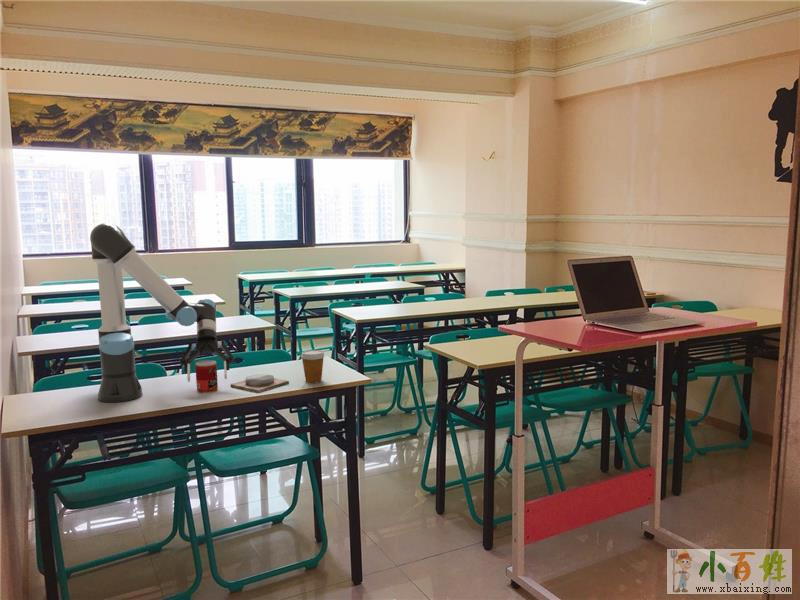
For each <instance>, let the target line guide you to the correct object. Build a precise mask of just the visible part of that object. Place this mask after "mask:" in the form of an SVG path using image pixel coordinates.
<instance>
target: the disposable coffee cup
mask: <svg viewBox="0 0 800 600" xmlns="http://www.w3.org/2000/svg"><path fill="white" fill-rule="evenodd" d="M300 357H301V360H302V366H303V367H302V368H303V372H304V378H305V382H306V383H309V384H317V383H321V382H322V377H323V367H324V358H325V352H324V351H323V350H321V349H320V350H319V349H308V350H304V351H302V352H301V355H300ZM320 381H321V382H320Z"/></svg>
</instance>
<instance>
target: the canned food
mask: <svg viewBox="0 0 800 600" xmlns="http://www.w3.org/2000/svg"><path fill="white" fill-rule="evenodd" d="M194 366H195V383H196V390H197V392H198V391H199V392H198V393H204V392H206V393H212V391H213V392H216V391H218V388H219V387H218V386H219V385H218V383H219V382H218V367H217V361H216V360H207V359H206V360H199V361H196V362H195V365H194Z"/></svg>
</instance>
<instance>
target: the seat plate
mask: <svg viewBox="0 0 800 600" xmlns="http://www.w3.org/2000/svg"><path fill="white" fill-rule="evenodd" d="M287 383H290V381H289V380H286V379H282V378H280V379H279V378H276V377H275V378H274V375H272V374H269V373H268V374H266V373H265V374H264V373H263V374H262V373H261V374H259V373H258V374H252V375H249V376H247V377H245V380H241V381H237V382H235V383H231V384H230V387H231V388H235V389H239V390H243V389H245V390H244V391H248V390H250V391H249V392H252V391H255V392H254V393H257V392H259V393H261V392H260V391H262V392H264V391H263V390H266V391H268V390H267V389H269V390H271V389H270V388H272V389H275V388H274V387H276V388H278V387H277V386H279V387H281V386H280V385H282V386H284V385H283V384H285V385H288V384H287Z"/></svg>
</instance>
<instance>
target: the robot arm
mask: <svg viewBox="0 0 800 600" xmlns="http://www.w3.org/2000/svg"><path fill="white" fill-rule="evenodd" d="M89 239H90V240H89V241H90V245H91V258H92V261H93V262H95V263H96V264H97V266H96V267H97V276H98V277H97V278H98V279H97V280H98V289H99V291H98V293H99V302H100V315H101V316H100V317H101V326H100V327H99V328H98V329H97V333H98V349H99V350H98V351H99V357H100V369H101V371H100V372H101V381H100V384H99V389H98V393H97V396H98V397H97V398H98V401H99V402H103V403H119V402H127V401H131V400H134V399H138V398H140V397H141V396H143V387H142V386H141V383H140V381H139V378H138V377H137V374H136V373H137V371H136V369H137V368H136V360H135V359H136V357H135V341H134V336H132V329H131V328H132V327H131V326H130V325H128V324H127V319H126V317H127V315H126V305H125V303H126V302H125V290H124V276H123V271H125V272H126V274H128V275H129V277H131V278H132V279H133V280H134V281H135V282H136V283H138V285H139V286H141V288H143V289H144V291H146V292H147V293H148V294H149V295H150V296H151V297H152V298H153V299H154V300H155V301H156V302H157V303H158V304H159V305H160V306H161V307H162V309H164V310H165V318H166V319H167V320H172V321H176V322H177V323H178V324H179V325H181V326H183V327H190V326H192V325H194V324H195V323H196V343H192V342H191V341H190V342H188V346H187V348H186V350H185V352H183V355H182V356H181V358H180V359H179V365H180V366H181V367H184V374H187V376H186V377H187V378H186V379H187V382H188V383H190V382H191V364H192V363H193V362H194V361H195V360H196V359H197V357H199V356H200V355H202V354H203V355H206V354H214V355H216V356H217V357H218V358H220V359H221V360H222V362H223V367H224V368H223V370H224V373H223V374H224V380H226V379H228V378H227V377H228V376H227V374H228V373H227V371H230V363H234V362H235V359H234V358H235V357H234V356H233V354H232V353H231V351H230V350H229V349H228V347H227V346H226V344H225V340H221V341H219V342H218V341H217V310H216V303H215V301H214V300H212V299H210V298H204V299H203V298H202V299H200V300H199V301H197V303H191V302H187V301H186V300H185V299H184V298H183V297H182V296H181V295H180V294H179V293H178V292H177V291H176V290H175V289H174V288H173V287H172V286H171V285H170V284H169V283H168V282H167V281H166V280H165V279H164V278H163V277H162V276H161V275H160V274H159V273H158V272H157V271H156V270H155V269H154V268H153V267H152V266H151V265H150V264H149V263H148V262H147V261H146V260H145V259H144V258H143V257H142V256H141V255H140V254H139V253H138V252H137V251H136V246H134V244H133V243H132V242H131V241H130V240H129V239H128V237H127V236H126V234H125V233H124V231H123V230H122V229H121V228H120V227H119V226H117V225H115V224H113V223H110V222H109V223H108V222H105V223H100V224H98V225H96V226H95V227H94V228H93V229H92V230H91V233H90V236H89ZM218 347H220V348H221V349H222V351H223V352H224V353H223V352H221V351H220V350H219V349H218ZM195 348H196V349H195ZM194 349H195V351H194V352H192V351H193V350H194ZM191 353H192V354H191Z"/></svg>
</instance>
